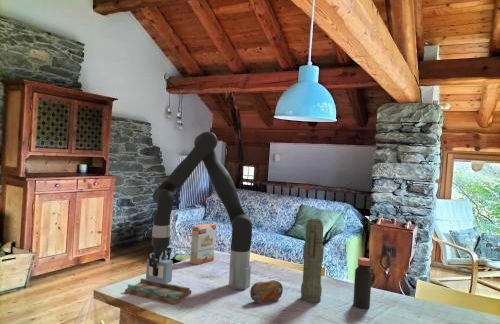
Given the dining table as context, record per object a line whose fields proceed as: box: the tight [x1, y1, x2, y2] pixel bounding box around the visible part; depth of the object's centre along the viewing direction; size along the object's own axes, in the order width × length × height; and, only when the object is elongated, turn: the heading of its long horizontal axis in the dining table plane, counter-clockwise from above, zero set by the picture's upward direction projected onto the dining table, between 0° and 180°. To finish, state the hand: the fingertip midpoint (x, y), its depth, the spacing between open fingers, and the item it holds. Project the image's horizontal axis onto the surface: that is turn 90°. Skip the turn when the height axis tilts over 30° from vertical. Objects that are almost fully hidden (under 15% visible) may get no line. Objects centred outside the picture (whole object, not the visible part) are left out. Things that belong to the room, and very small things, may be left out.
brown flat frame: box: [124, 278, 192, 305], centre depth 156 cm, size 25×13×3 cm, turn 69°
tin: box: [249, 279, 284, 304], centre depth 154 cm, size 15×3×8 cm, turn 117°
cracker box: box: [189, 223, 217, 266], centre depth 204 cm, size 14×6×21 cm, turn 143°
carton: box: [145, 258, 174, 285], centre depth 156 cm, size 5×10×9 cm, turn 69°
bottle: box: [352, 257, 373, 309], centre depth 154 cm, size 7×7×20 cm
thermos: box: [300, 218, 325, 304], centre depth 158 cm, size 9×12×35 cm
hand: (159, 273), depth 156 cm, fingers closed on carton, 5 cm apart
